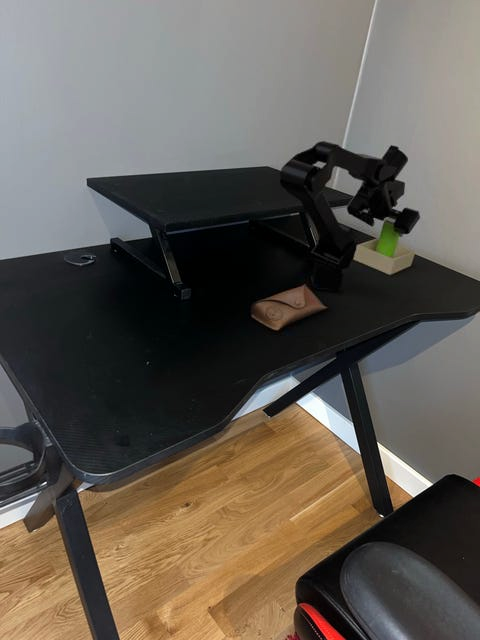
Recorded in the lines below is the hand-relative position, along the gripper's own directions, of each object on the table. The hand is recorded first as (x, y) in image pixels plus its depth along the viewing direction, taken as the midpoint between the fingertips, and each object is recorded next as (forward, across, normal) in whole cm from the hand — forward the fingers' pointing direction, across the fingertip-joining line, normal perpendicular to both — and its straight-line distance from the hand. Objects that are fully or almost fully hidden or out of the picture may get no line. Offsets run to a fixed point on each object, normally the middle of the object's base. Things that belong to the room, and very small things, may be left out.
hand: (387, 230), depth 127 cm
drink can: (+9, 0, +5) cm, 10 cm away
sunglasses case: (-24, -4, +39) cm, 46 cm away
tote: (+9, 0, +5) cm, 11 cm away
